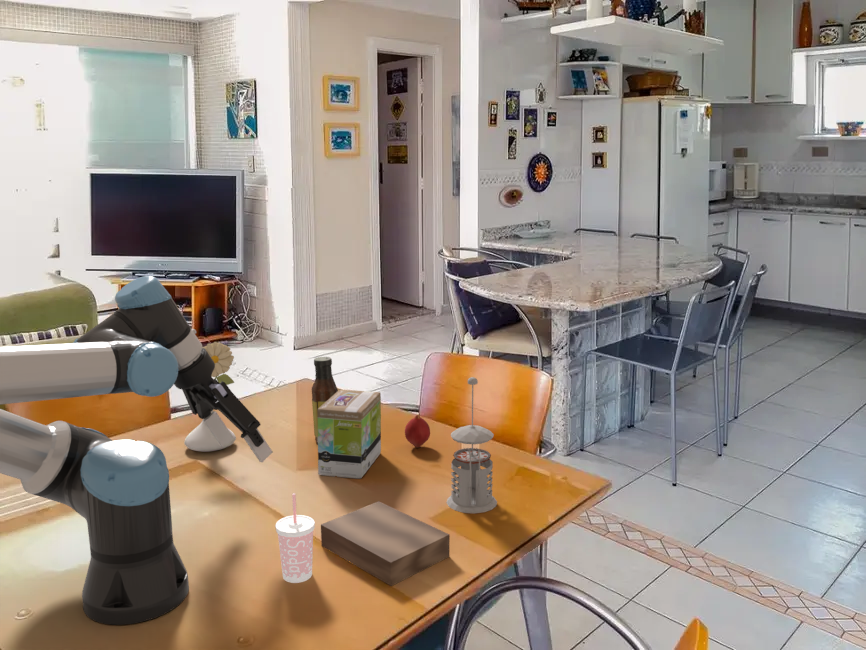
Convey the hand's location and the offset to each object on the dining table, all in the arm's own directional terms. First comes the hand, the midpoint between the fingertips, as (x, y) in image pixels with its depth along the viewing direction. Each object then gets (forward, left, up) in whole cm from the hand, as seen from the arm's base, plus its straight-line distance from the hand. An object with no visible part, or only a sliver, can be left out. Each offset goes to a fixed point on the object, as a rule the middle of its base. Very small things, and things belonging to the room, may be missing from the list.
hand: (246, 449), depth 145 cm
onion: (+46, +3, -13) cm, 48 cm away
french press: (+33, -26, -13) cm, 44 cm away
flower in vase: (+13, +36, -13) cm, 41 cm away
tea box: (+29, +6, -13) cm, 32 cm away
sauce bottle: (+34, +21, -13) cm, 42 cm away
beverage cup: (-6, -24, -13) cm, 28 cm away
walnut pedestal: (+9, -28, -13) cm, 32 cm away
